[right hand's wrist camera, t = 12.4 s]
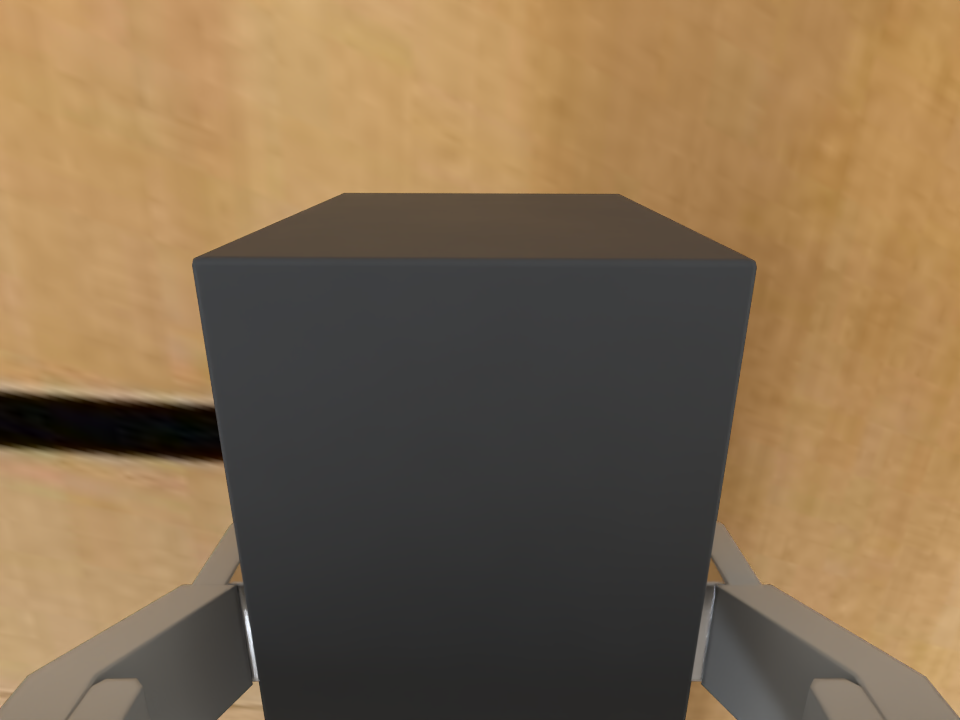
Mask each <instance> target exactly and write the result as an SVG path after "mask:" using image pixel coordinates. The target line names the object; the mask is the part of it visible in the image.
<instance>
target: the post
mask: <svg viewBox="0 0 960 720" xmlns="http://www.w3.org/2000/svg"><path fill="white" fill-rule="evenodd" d="M192 267H193V273H194V280H195V286H196V292H197V298H198V305H199V311H200V317H201V323H202V330H203V336H204V342H205V348H206V355H207V361H208V367H209V373H210V380H211V386H212V392H213V398H214V405H215V411H216V417H217V423H218V429H219V436H220V442H221V448H222V454H223V461H224V467H225V473H226V479H227V486H228V492H229V498H230V504H231V511H232V517H233V523H234V529H235V536H236V542H237V548H238V554H239V561H240V567H241V573H242V579H243V586H244V592H245V598H246V604H247V611H248V617H249V623H250V629H251V636H252V642H253V648H254V654H255V661H256V667H257V673H258V679H259V686H260V692H261V698H262V704H263V711H264V717H265V720H685V718H686V711H687V705H688V699H689V692H690V686H691V680H692V673H693V667H694V661H695V654H696V648H697V642H698V635H699V629H700V623H701V616H702V610H703V604H704V597H705V591H706V585H707V578H708V572H709V566H710V559H711V553H712V547H713V540H714V534H715V528H716V522H717V515H718V509H719V503H720V496H721V490H722V484H723V477H724V471H725V465H726V458H727V452H728V446H729V439H730V433H731V427H732V420H733V414H734V408H735V401H736V395H737V389H738V382H739V376H740V370H741V363H742V357H743V351H744V344H745V338H746V332H747V325H748V319H749V313H750V306H751V300H752V294H753V288H754V281H755V275H756V269H757V266H756V262H755V261H754V260H752V259H750V258H748V257H746V256H744V255H742V254H740V253H738V252H736V251H734V250H732V249H730V248H728V247H726V246H724V245H722V244H719V243H717V242H715V241H713V240H711V239H709V238H707V237H705V236H703V235H701V234H699V233H697V232H695V231H693V230H691V229H689V228H687V227H685V226H683V225H681V224H679V223H677V222H675V221H673V220H671V219H669V218H667V217H665V216H663V215H660V214H658V213H656V212H654V211H652V210H650V209H648V208H646V207H644V206H642V205H640V204H638V203H636V202H634V201H632V200H630V199H628V198H626V197H624V196H622V195H620V194H456V193H343V194H341V195H339V196H336V197H334V198H332V199H329V200H327V201H325V202H323V203H320V204H318V205H316V206H313V207H311V208H309V209H306V210H304V211H302V212H300V213H297V214H295V215H293V216H290V217H288V218H286V219H283V220H281V221H279V222H276V223H274V224H272V225H270V226H267V227H265V228H263V229H260V230H258V231H256V232H253V233H251V234H249V235H247V236H244V237H242V238H240V239H237V240H235V241H233V242H230V243H228V244H226V245H224V246H221V247H219V248H217V249H214V250H212V251H210V252H207V253H205V254H203V255H201V256H198V257H196V258H194V259H193V264H192Z"/></svg>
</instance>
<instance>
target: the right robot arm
mask: <svg viewBox="0 0 960 720" xmlns="http://www.w3.org/2000/svg"><path fill="white" fill-rule="evenodd" d="M252 681H259V679H258V673H257V667H256V661H255V654H254V648H253V642H252V636H251V629H250V623H249V617H248V611H247V604H246V598H245V592H244V586H243V579H242V573H241V567H240V561H239V554H238V548H237V542H236V536H235V529H234V523H233V524H231V525H230V526H229V527H228V529H227V530H226V532H225V534H224V535H223V537H222V538H221V540H220V541H219V543H218V544H217V546H216V548H215V549H214V551H213V552H212V554H211V555H210V557H209V558H208V560H207V562H206V563H205V565H204V566H203V568H202V569H201V571H200V572H199V574H198V576H197V577H196V579H195V580H194V582H193V583H192V585H181V586H179V587H178V588H176V589H174V590H173V591H171V592H169V593H167V594H166V595H164V596H162V597H161V598H159V599H157V600H156V601H154V602H152V603H150V604H149V605H147V606H145V607H144V608H142V609H140V610H139V611H137V612H135V613H133V614H132V615H130V616H128V617H127V618H125V619H123V620H121V621H120V622H118V623H116V624H115V625H113V626H111V627H110V628H108V629H106V630H104V631H103V632H101V633H99V634H98V635H96V636H94V637H93V638H91V639H89V640H87V641H86V642H84V643H82V644H81V645H79V646H77V647H75V648H74V649H72V650H70V651H69V652H67V653H65V654H64V655H62V656H60V657H58V658H57V659H55V660H53V661H52V662H50V663H48V664H47V665H45V666H43V667H41V668H40V669H38V670H36V671H35V672H33V673H31V674H29V675H28V676H27V677H26V678H25V679H24V680H23V682H22V683H21V684H20V685H19V686H18V688H17V689H16V690H15V691H14V692H13V694H12V695H11V696H10V697H9V698H8V699H7V701H6V702H5V703H4V704H3V705H2V707H1V708H0V720H217V719H218V718H219V717H220V716H221V715H222V714H223V713H224V712H225V711H226V710H227V709H228V708H229V707H230V706H231V705H232V704H233V703H234V702H235V701H236V700H237V699H238V698H239V697H240V696H241V695H242V694H243V693H244V692H246V691H247V690H248V689H249V688H250V687H251V686H252V685H253V684H252ZM691 681H702V682H701V684H702V685H703V686H704V687H705V688H706V689H707V690H708V691H709V692H710V693H711V694H712V695H713V696H714V697H715V698H716V699H717V700H718V701H719V702H720V703H721V704H722V705H723V706H724V707H725V708H726V709H727V710H728V711H729V712H730V713H731V714H732V715H733V716H734V717H735V718H736V719H737V720H960V718H959V717H958V715H957V714H956V713H955V712H954V711H953V709H952V708H951V707H950V706H949V704H948V703H947V702H946V701H945V700H944V698H943V697H942V696H941V695H940V693H939V692H938V691H937V690H936V689H935V687H934V686H933V685H932V684H931V682H930V681H929V680H928V679H927V678H926V677H925V676H924V675H922V674H920V673H919V672H917V671H915V670H914V669H912V668H910V667H909V666H907V665H905V664H904V663H902V662H900V661H899V660H897V659H895V658H894V657H892V656H890V655H888V654H887V653H885V652H883V651H882V650H880V649H878V648H877V647H875V646H873V645H872V644H870V643H868V642H867V641H865V640H863V639H862V638H860V637H858V636H857V635H855V634H853V633H851V632H850V631H848V630H846V629H845V628H843V627H841V626H840V625H838V624H836V623H835V622H833V621H831V620H830V619H828V618H826V617H825V616H823V615H821V614H820V613H818V612H816V611H814V610H813V609H811V608H809V607H808V606H806V605H804V604H803V603H801V602H799V601H798V600H796V599H794V598H793V597H791V596H789V595H788V594H786V593H784V592H783V591H781V590H779V589H777V588H776V587H774V586H772V585H762V584H761V582H760V581H759V579H758V578H757V576H756V575H755V573H754V571H753V570H752V568H751V567H750V565H749V564H748V562H747V560H746V559H745V557H744V556H743V554H742V553H741V551H740V549H739V548H738V546H737V545H736V543H735V542H734V540H733V538H732V537H731V535H730V534H729V532H728V531H727V529H726V527H725V526H724V524H722V523H721V522H719V521H717V522H716V528H715V534H714V540H713V547H712V553H711V559H710V566H709V572H708V578H707V585H706V591H705V597H704V604H703V610H702V616H701V623H700V629H699V635H698V642H697V648H696V654H695V661H694V667H693V673H692V680H691Z"/></svg>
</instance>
